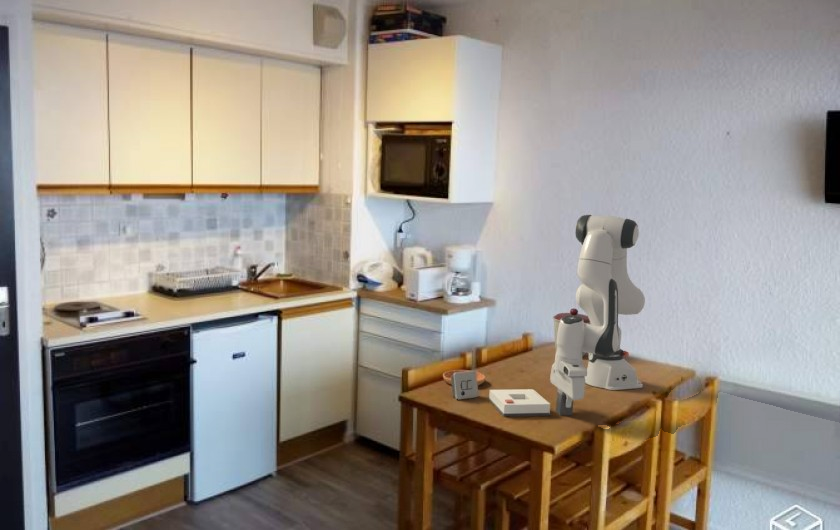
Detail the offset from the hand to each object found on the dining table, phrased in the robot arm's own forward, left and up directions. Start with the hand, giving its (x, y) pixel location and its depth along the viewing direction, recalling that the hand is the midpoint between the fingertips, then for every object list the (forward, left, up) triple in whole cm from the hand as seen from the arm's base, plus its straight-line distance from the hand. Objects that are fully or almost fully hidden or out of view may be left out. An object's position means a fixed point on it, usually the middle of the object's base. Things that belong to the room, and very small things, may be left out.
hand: (564, 404), depth 245 cm
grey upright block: (0, 0, -3) cm, 3 cm away
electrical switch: (+30, -19, -3) cm, 36 cm away
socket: (+14, -6, -3) cm, 16 cm away
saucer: (+25, -36, -4) cm, 44 cm away
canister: (-35, -75, -3) cm, 83 cm away
